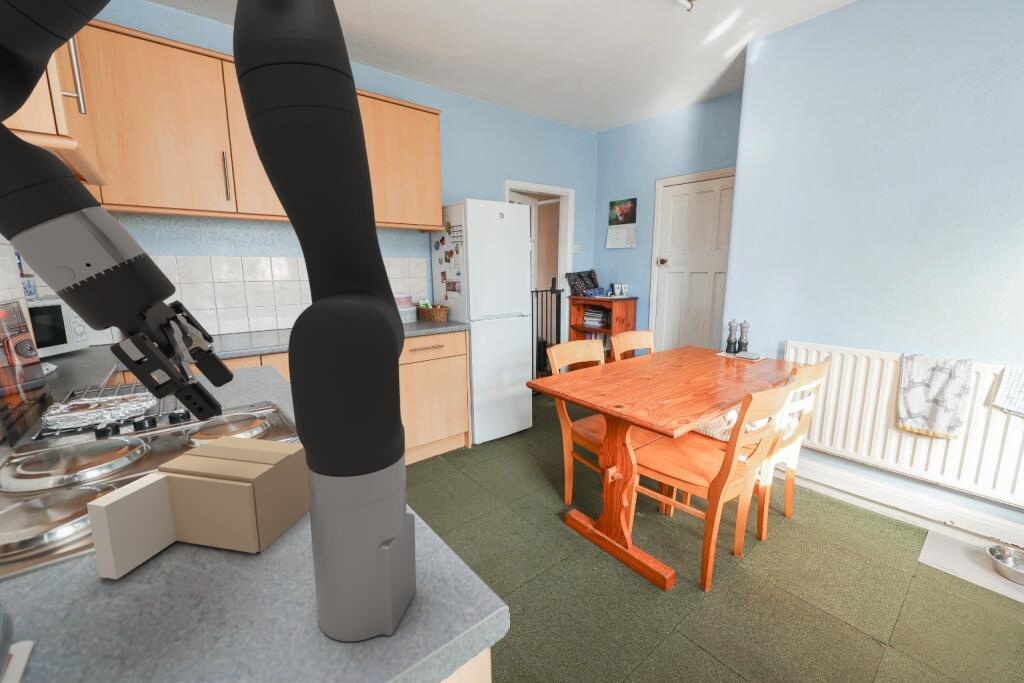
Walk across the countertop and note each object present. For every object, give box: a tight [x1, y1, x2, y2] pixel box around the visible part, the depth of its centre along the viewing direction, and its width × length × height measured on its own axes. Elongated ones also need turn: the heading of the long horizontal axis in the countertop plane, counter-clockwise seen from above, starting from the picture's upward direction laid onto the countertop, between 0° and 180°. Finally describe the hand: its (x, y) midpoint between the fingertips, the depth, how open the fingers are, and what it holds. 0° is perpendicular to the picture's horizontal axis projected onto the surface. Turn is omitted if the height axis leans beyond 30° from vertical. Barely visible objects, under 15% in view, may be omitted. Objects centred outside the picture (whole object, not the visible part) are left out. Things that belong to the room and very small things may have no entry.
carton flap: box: [86, 470, 259, 581], centre depth 50 cm, size 14×8×9 cm, turn 79°
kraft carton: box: [157, 435, 310, 553], centre depth 59 cm, size 14×10×10 cm
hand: (220, 397), depth 47 cm, fingers open, 8 cm apart
